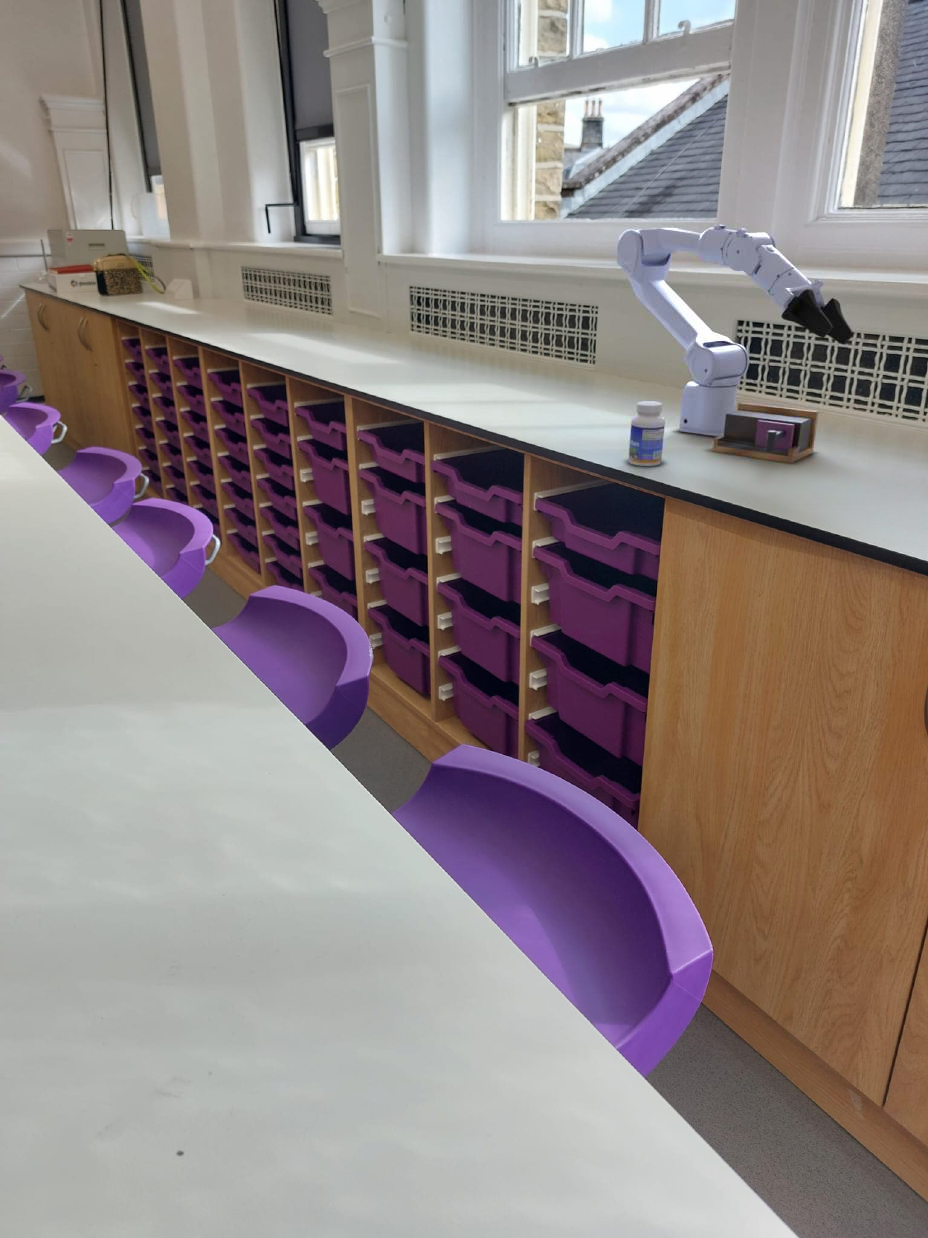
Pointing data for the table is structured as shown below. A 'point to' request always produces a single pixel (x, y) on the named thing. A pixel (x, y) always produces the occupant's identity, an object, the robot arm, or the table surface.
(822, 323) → the robot arm
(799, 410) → the sliding door box
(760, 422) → the sliding door
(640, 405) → the pill bottle
